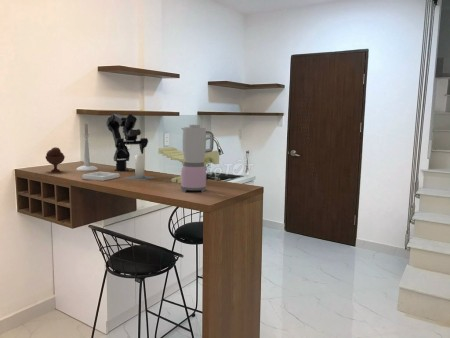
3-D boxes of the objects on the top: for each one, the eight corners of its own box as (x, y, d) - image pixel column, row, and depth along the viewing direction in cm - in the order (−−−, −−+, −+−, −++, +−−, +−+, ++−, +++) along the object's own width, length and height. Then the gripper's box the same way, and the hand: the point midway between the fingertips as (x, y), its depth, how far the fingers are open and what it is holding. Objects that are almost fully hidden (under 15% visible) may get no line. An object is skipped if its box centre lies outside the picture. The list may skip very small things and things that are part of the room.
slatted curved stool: (218, 181, 207) (219, 150, 205) (203, 186, 193) (204, 152, 191) (175, 176, 221) (175, 146, 219) (158, 179, 208) (158, 148, 205)
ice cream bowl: (68, 170, 232) (67, 146, 230) (58, 173, 221) (58, 148, 219) (52, 169, 233) (51, 146, 231) (42, 172, 222) (41, 147, 220)
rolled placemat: (138, 176, 213) (138, 154, 211) (145, 177, 211) (145, 154, 209) (133, 177, 209) (133, 155, 207) (140, 178, 207) (140, 155, 205)
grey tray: (99, 175, 215) (99, 171, 215) (119, 177, 210) (119, 173, 210) (82, 179, 203) (82, 174, 202) (102, 181, 197) (102, 177, 197)
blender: (181, 193, 174) (182, 124, 169) (179, 188, 186) (180, 124, 181) (214, 192, 177) (216, 125, 173) (210, 187, 189) (211, 125, 184)
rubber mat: (136, 175, 219) (136, 175, 219) (156, 177, 214) (157, 177, 214) (121, 179, 206) (121, 178, 206) (143, 181, 201) (143, 180, 201)
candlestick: (77, 171, 229) (76, 123, 225) (75, 168, 240) (73, 122, 236) (99, 170, 235) (98, 123, 231) (95, 167, 246) (94, 122, 242)
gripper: (116, 124, 212) (121, 145, 204) (147, 124, 222) (153, 144, 214) (112, 137, 220) (118, 157, 212) (142, 137, 229) (149, 156, 222)
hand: (135, 153), depth 215 cm, fingers open, 9 cm apart
